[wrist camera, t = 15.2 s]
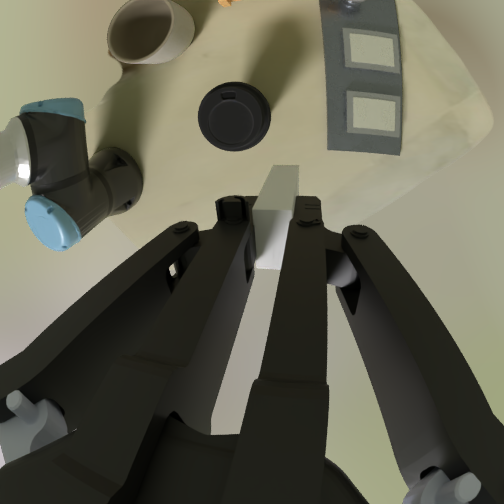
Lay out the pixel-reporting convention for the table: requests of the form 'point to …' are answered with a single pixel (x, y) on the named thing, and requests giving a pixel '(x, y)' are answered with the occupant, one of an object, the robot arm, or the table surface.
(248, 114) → the coffee cup
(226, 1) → the swing arm
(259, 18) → the table surface
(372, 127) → the grey switch panel
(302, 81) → the table surface
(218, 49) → the table surface
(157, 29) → the planter
